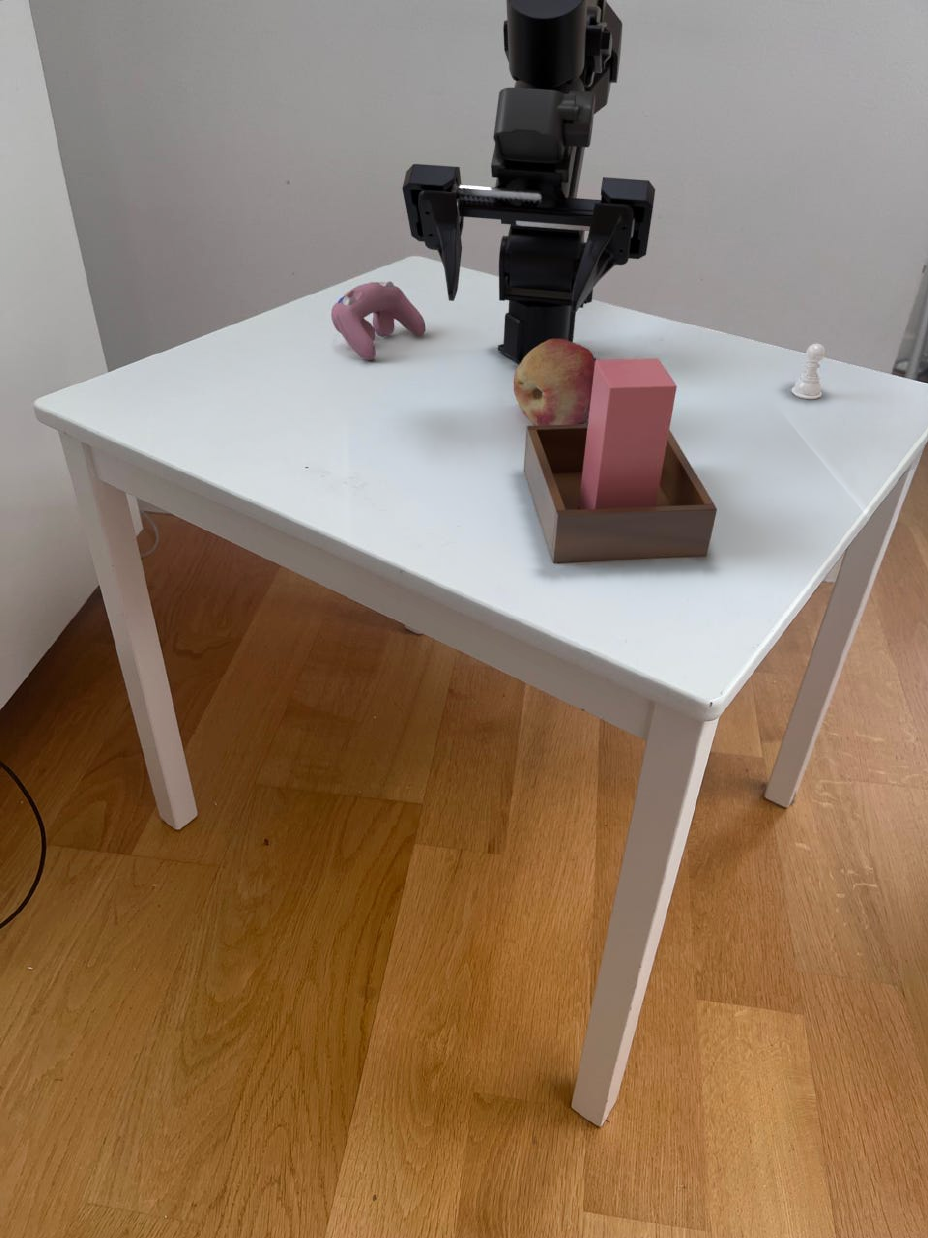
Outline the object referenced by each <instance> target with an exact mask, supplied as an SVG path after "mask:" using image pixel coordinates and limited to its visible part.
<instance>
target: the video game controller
mask: <svg viewBox="0 0 928 1238" xmlns="http://www.w3.org/2000/svg"><path fill="white" fill-rule="evenodd" d="M371 314H372V315H373V316H372V323H371V322H370V321H369V320H367V319H365V318H366V317H368V316H370V315H371ZM330 317H331V321H332V324H333V326H334V328H335V330H336V331H338V333H340V334H341V336H342V337H343V339H344V340H345V341H346V343H347V344H348V345H349V347H350V348H351V349H352V350H353V352H355V353H356V354H357V355H358V356H360V357H361V358H363V359H364V360H366V361H372V360H374V359H375V357H376V355H377V354H376V350H377V349H376V346H375V343H374V342H375V340H376V336H378V337H380V338H386V337H388V336H391V335H392V334H393V333H394V332H395V320H396V321H397V322H398V323H399V324H401V325H402V326H403V327H404V328H405V329H406V330H407V331H409V332H410V333H412V334H414V335H417V336H418V337H419V336H423V335H424V334H425V333H426V329H427V328H426V322H425V319H424V317H423V315H422V314H421V312H420V311H419V310H418V309H417V308H416V306H415V305H414V304H413V303H412V302H411V301H410V300H409V298H408V297H407V296H406V294H405V293H404V292H403V290H402V289H401V288H400V287H398V286H396V285H395V284H394V282H393V281H387V282H386V281H379V282H377V281H376V282H375V281H371V282H368V283H362V284H360V285H358V286H356V287H353V288H352V289H350V290H349V291H347V292H346V293H344V295H343V296H342V297H340V298H339V299H338V301H336V302H335V303H334V305H333V306H332V307H331V311H330Z"/></svg>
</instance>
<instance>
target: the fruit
mask: <svg viewBox="0 0 928 1238" xmlns="http://www.w3.org/2000/svg"><path fill="white" fill-rule="evenodd" d="M596 360H597V358H596V357H595V356H594V354H593V353H592V351H590V350H589V349H588V348H587V347H585V346H582V345H580V344H578V343H575V342H574V341H573V342H571V341H568V340H566V339H549V340H547V341H545V342H543V343H541V344H540V345H539V346H537V347H535V348H534V349H532V350H531V351H530V352H529V353H528V354H527V355H526V356H525V357H524V359H523V360H522V362H521V363H520V365H519V364H518V366H517V368H516V370H515V372H514V375H513V392H514V393H513V394H514V396H515V400H516V402H517V405H518V407H519V409H520V410H521V412H522V414H523V415H524V417H526V418H527V420H528V421H529V422H530V423H531V424H532V425H533V426H541V425H574V424H583V422H585V421H586V420H587V419H589V411H590V402H591V393H592V385H593V376H594V367H595V361H596Z"/></svg>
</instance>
